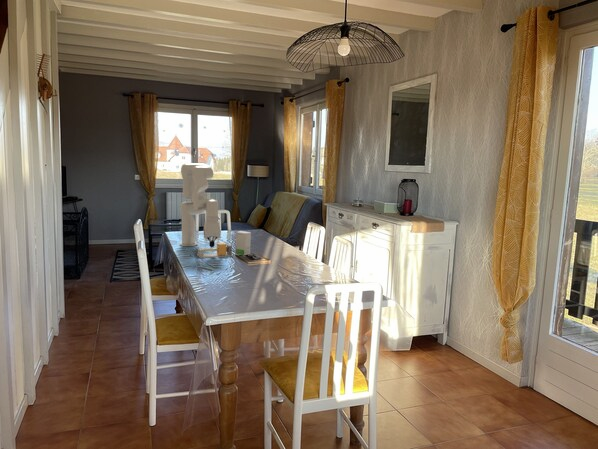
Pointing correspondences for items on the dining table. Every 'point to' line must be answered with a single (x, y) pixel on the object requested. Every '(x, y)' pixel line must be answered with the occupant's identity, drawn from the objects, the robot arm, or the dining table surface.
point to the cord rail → (202, 255)
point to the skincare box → (242, 243)
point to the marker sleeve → (221, 248)
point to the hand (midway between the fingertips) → (211, 247)
